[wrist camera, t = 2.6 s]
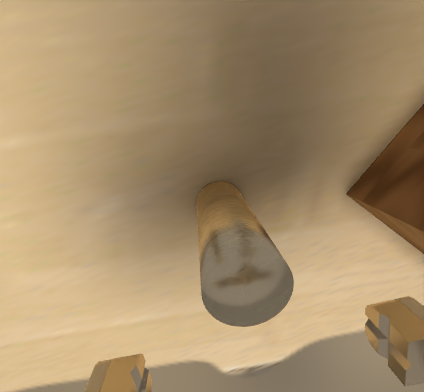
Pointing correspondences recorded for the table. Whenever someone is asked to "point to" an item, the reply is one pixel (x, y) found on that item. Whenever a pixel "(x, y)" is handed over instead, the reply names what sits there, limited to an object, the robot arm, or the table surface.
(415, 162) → the bore block
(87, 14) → the table surface
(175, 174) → the table surface
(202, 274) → the pin
